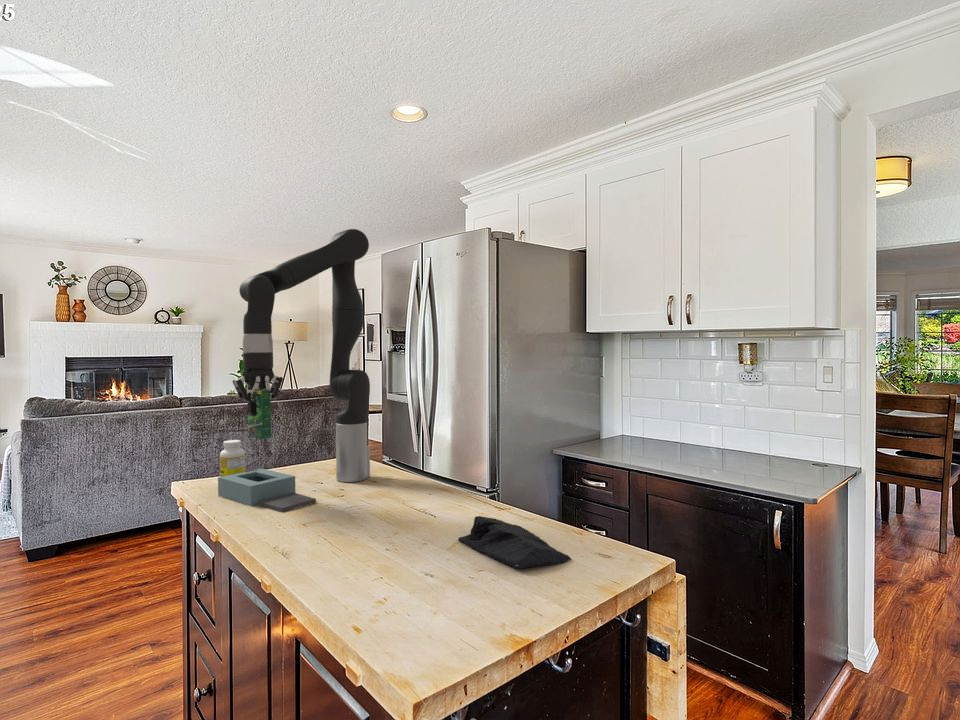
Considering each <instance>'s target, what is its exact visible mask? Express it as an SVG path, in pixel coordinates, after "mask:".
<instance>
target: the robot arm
mask: <svg viewBox="0 0 960 720" xmlns="http://www.w3.org/2000/svg"><path fill="white" fill-rule="evenodd" d="M369 246H370V243H369V239H368V237H367V235H366V234H365V233H364V232H363V231H361V230H360V229H356V228H349V229H346V230H342V231H340V232H337V233H335V234H334V235H333V236H332V238H331V239H330V243H327V244H326V245H324V246H321V247H319V248H317V249H314V250H312V251H309V252H305V253H303V254H300V255H297V256H295V257H293V258H290V259H288V260H286V261H284V262H282V263H279V264H278V265H276V266H274V267H273V268H270V269H268V270H265V271H263V272H260V273H257V274H255V275H252V276H250V277H248V278H246V279H244V280H243V281H242V282H241V283H240V285H239V295H240V297H241V298H242V299H243V300H244V301H245V302H247V311H246V312H245V313H244V316H243V336H242V337H243V339H242V368H243V373H242V375H241V377H238V378H237V379H236V378H233V380H232V384H233V386H234V388H235V391H236V393H237V396H239V399H240V400H242V401H246V402H247V415H248V414H250V416H256V402H255V399H256V393H257V391H258V389H269V390H270V398H271V400H273V399H274V398H275V399H276V398H277V397H278V395H279V392H280V390H281V386H282V384H283V381H284V378H283V376H277V375H275V373H274V371H273V368H274V341H273V340H274V339H273V335H272V334H273V333H272V332H273V329H272V328H273V327H272V325H273V324H272V314H273V310H274V306H275V300H276V294H278V293H280V292H282V291H286V290H289V289H292V288H294V287H297V286H298V285H300V284H302V283H304V282H306V281H307V280H310V279H312V278H313V277H315V276H317V275H319V274H320V273H323V272H324V271H326V270H328V269H330V268H331V276H332V280H331V281H332V286H331V287H332V288H331V289H332V298H331V299H332V303H331V304H332V306H331V307H332V308H331V309H332V310H331V316H332V317H331V322H332V323H331V324H332V344H331V346H332V348H331V351H332V352H331V362H330V372H329V390H330V394H331V395H332V397H333V398H334V399H336V400H343V401H348V406H347V408H345V410H343V411H340V412H337V413H336V415H335V448H336V450H335V457H336V459H335V462H336V464H335V465H336V470H335V471H336V478H335V479H336V481H337V482H341V483H342V482H343V483H355V482H356V483H357V482H362V481H365V480H367V479H368V478H371V450H370V449H371V448H370V445H368V416H369V412H370V396H371V395H370V394H371V392H370V391H371V390H370V389H371V384H370V383H371V382H370V378H369V375H368V373H367V372H366V371H365V370H362V369H350V360H351V359H350V358H351V354H352V351H353V349H354V346H355V344H356V343H357V341H358V339H359V337H360V335H361V333H362V331H363V328H364V304H363V299H362V297H361V294H360V291H359V289H358V287H357V283H356V277H355V275H356V274H355V273H356V272H355V269H356V261H358V260H360V259H362V258H364V257H365V256H366V255H367V253H368V251H369V248H370V247H369ZM245 384H246V385H247V387H246V386H245Z"/></svg>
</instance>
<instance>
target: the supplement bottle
mask: <svg viewBox="0 0 960 720" xmlns="http://www.w3.org/2000/svg"><path fill="white" fill-rule="evenodd" d="M222 445H223V450H221V452H220V453H219V477H222V476H227V475H232V474H237V473H242V472H246V465H245V464H246V463H245V462H246V460H245V459H246V453H245V450H244V449H243V448H241V445H242V440H240V439H230V440H224V441H223V444H222Z"/></svg>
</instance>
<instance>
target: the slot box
mask: <svg viewBox="0 0 960 720" xmlns="http://www.w3.org/2000/svg"><path fill="white" fill-rule="evenodd" d="M217 490H218V491H217V496H218V497H221V498H224V499H228V500H230V501H232V502H236V503H239V504H240V503H241V504H244V505H246V504H247V506H249V505H250V507H252V506H256V505H259V504H258V501H262V500H266V499H269V498H273V497H277V496H281V495H285V494H289V493H296V476H295V475H292V474H287V473H282V472H279V471H276V470H275V471H274V470H271V469H266V468H258V469H254V470H249V471H245V472H242V473H237V474H232V475H227V476H222V477H220V476H218V477H217Z"/></svg>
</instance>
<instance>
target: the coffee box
mask: <svg viewBox="0 0 960 720" xmlns="http://www.w3.org/2000/svg"><path fill="white" fill-rule="evenodd" d="M271 400H272V399H271V398H270V390H269V389H258V391H257V393H256V399H255V402H256V416H250V414H248V413H247V418H248V436H249V437H251V438H255V439H259V440H260V439H261V440H269V439H272V415H271V414H272V411H271V409H272V407H271V404H272V403H271Z"/></svg>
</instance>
